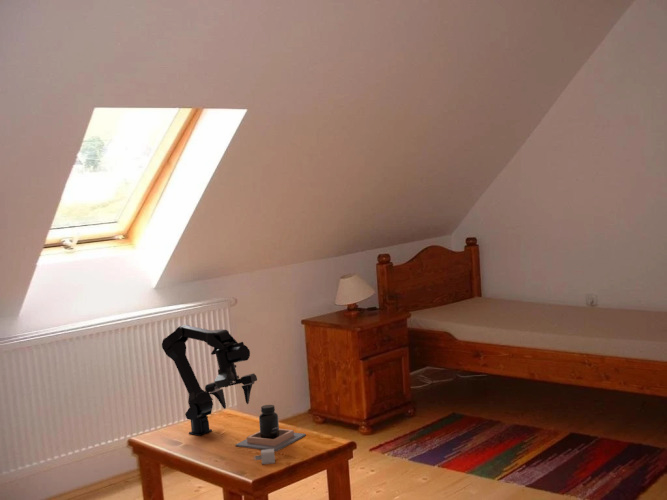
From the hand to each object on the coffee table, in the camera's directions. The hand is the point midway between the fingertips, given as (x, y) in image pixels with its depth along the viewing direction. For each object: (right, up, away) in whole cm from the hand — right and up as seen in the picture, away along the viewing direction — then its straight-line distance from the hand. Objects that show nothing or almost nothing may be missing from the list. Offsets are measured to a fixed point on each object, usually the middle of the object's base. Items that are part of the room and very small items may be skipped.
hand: (236, 406), depth 290 cm
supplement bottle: (+13, -11, -5) cm, 18 cm away
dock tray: (+13, -11, -5) cm, 18 cm away
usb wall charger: (+13, -13, -28) cm, 34 cm away
